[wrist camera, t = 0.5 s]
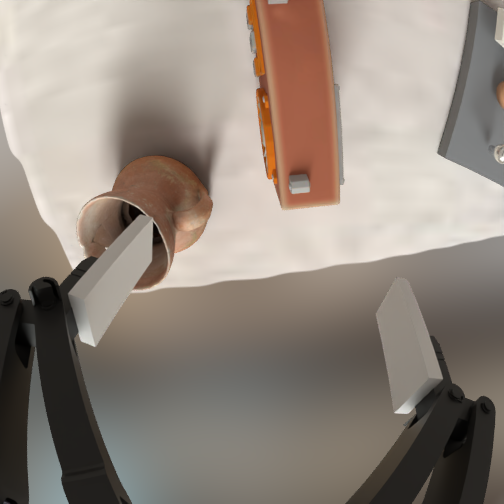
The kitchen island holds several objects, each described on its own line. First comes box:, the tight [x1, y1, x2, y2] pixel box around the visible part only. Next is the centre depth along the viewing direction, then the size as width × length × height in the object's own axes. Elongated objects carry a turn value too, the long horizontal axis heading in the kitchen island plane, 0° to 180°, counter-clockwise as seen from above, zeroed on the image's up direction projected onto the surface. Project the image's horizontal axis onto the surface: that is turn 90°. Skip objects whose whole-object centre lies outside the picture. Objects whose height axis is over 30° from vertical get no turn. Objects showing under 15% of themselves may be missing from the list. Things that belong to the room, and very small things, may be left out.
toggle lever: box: [488, 144, 504, 164], centre depth 26 cm, size 2×2×8 cm
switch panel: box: [438, 1, 504, 187], centre depth 26 cm, size 24×12×4 cm, turn 170°
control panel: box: [246, 0, 344, 210], centre depth 27 cm, size 21×7×15 cm, turn 7°
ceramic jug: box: [76, 156, 213, 291], centre depth 37 cm, size 18×14×14 cm
